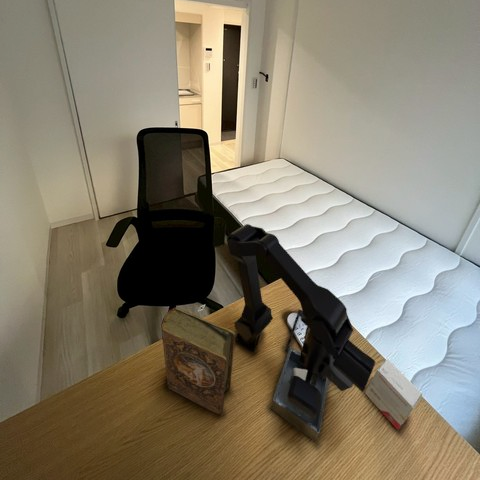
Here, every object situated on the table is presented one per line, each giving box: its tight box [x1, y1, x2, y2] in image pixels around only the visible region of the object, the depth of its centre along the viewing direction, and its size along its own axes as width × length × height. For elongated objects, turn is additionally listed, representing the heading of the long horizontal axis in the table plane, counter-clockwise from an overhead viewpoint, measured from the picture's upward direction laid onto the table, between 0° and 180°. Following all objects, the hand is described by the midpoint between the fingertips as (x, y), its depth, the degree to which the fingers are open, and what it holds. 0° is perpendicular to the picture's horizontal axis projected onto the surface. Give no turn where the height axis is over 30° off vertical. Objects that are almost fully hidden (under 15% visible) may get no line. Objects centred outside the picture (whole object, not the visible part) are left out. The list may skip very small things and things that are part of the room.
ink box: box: [365, 358, 423, 431], centre depth 61 cm, size 9×5×12 cm, turn 33°
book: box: [160, 306, 236, 416], centre depth 58 cm, size 16×6×25 cm, turn 71°
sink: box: [270, 346, 330, 442], centre depth 63 cm, size 11×13×4 cm
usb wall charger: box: [292, 368, 307, 380], centre depth 63 cm, size 4×7×4 cm, turn 174°
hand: (305, 379), depth 61 cm, fingers open, 9 cm apart
